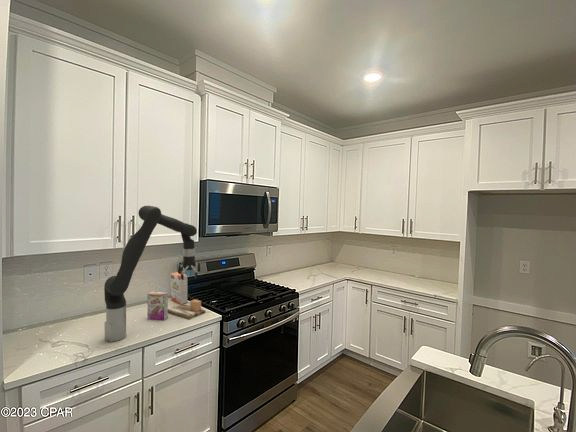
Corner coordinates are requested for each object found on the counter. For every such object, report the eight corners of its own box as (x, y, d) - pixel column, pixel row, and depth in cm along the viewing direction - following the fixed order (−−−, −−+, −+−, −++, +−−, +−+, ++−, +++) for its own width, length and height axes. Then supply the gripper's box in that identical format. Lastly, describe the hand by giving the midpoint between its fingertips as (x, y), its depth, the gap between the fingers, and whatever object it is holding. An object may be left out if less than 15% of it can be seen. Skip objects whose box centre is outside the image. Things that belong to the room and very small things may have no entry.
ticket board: (188, 319, 180) (188, 315, 180) (165, 312, 191) (165, 308, 191) (205, 312, 192) (205, 308, 192) (182, 306, 203) (182, 302, 203)
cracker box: (170, 300, 215) (170, 272, 214) (178, 298, 219) (178, 271, 218) (180, 304, 206) (180, 276, 205) (187, 302, 210) (187, 274, 209)
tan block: (196, 311, 189) (196, 302, 189) (190, 309, 192) (190, 301, 192) (201, 309, 193) (201, 300, 193) (194, 307, 196) (194, 299, 196)
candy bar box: (147, 319, 179) (147, 293, 179) (151, 316, 184) (151, 291, 184) (164, 320, 178) (164, 294, 178) (168, 317, 183) (168, 292, 182)
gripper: (178, 257, 186) (179, 281, 187) (201, 255, 193) (201, 278, 194) (176, 255, 192) (177, 278, 193) (198, 253, 199) (198, 276, 200)
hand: (189, 278), depth 194 cm, fingers open, 8 cm apart
